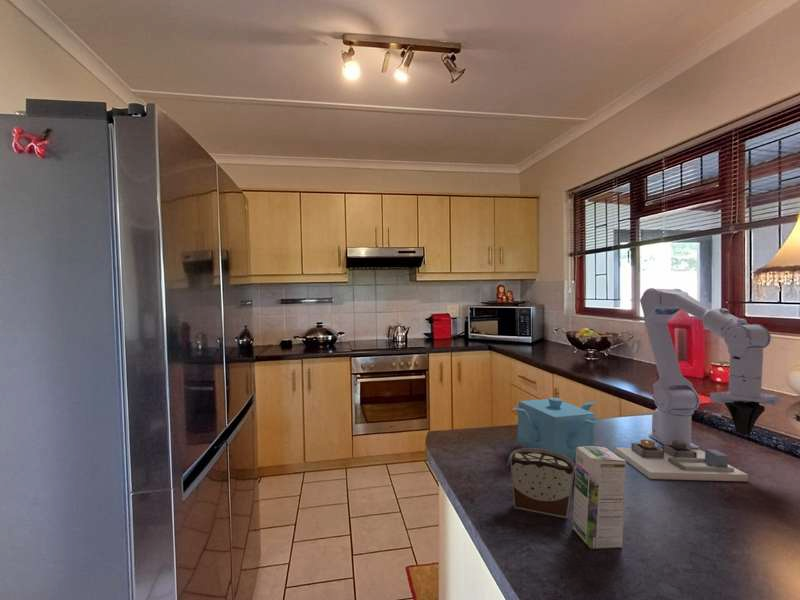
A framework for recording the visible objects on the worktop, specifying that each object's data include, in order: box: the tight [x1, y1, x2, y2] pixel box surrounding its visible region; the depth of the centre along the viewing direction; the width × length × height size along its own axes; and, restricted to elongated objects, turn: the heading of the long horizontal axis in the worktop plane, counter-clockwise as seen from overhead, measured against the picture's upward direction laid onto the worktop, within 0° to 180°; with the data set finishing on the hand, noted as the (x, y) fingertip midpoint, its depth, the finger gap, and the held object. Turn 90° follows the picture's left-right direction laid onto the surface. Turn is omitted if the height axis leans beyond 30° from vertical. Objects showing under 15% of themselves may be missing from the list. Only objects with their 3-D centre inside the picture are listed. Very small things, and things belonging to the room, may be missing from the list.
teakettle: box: [512, 397, 599, 464], centre depth 98 cm, size 19×19×15 cm
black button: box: [672, 440, 687, 451], centre depth 98 cm, size 3×3×2 cm
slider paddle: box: [704, 448, 729, 467], centre depth 91 cm, size 4×2×3 cm, turn 0°
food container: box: [507, 447, 576, 519], centre depth 75 cm, size 12×6×10 cm, turn 71°
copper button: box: [640, 439, 656, 450], centre depth 98 cm, size 3×3×2 cm
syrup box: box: [572, 445, 627, 550], centre depth 65 cm, size 6×6×14 cm
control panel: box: [614, 442, 749, 482], centre depth 94 cm, size 14×22×3 cm, turn 90°
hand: (742, 433), depth 91 cm, fingers closed
